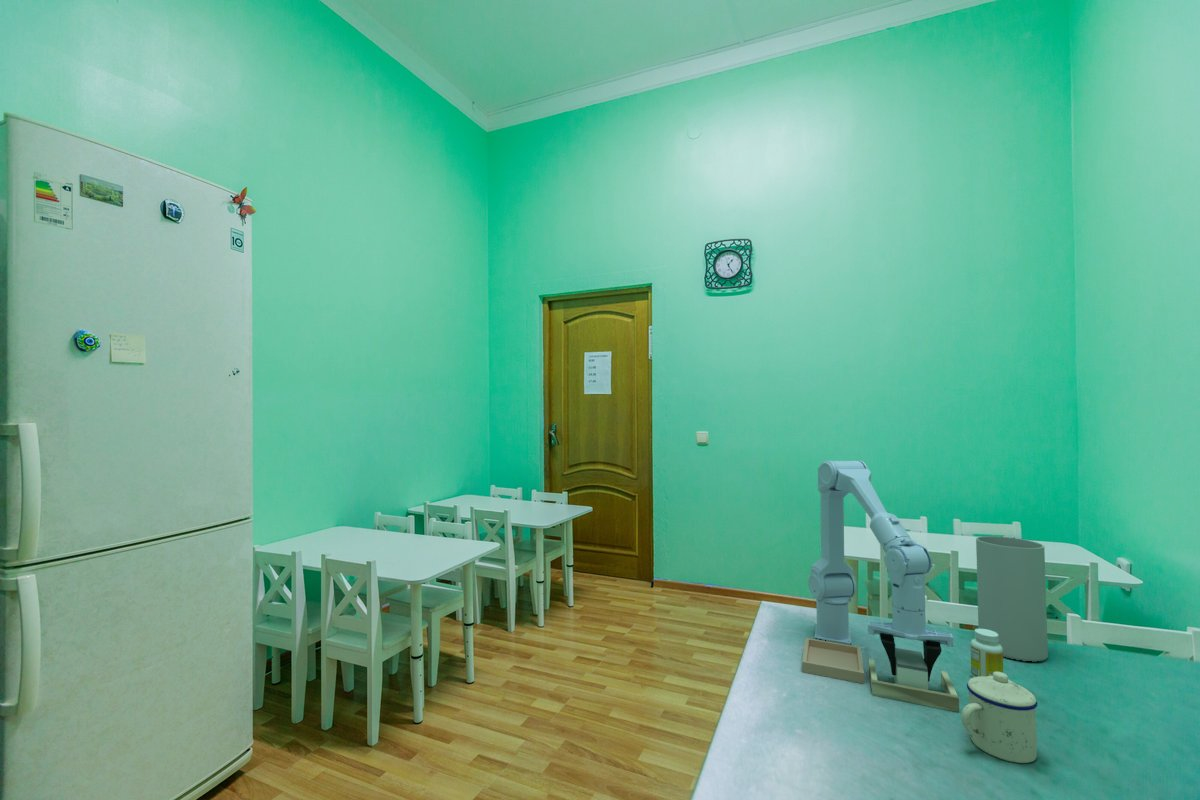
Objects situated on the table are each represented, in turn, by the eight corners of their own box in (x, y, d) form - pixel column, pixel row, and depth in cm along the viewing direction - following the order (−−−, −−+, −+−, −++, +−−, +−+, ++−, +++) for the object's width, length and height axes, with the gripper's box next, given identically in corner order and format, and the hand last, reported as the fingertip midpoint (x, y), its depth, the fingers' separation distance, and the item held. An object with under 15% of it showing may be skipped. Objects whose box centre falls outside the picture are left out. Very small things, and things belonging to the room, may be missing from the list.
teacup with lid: (998, 727, 89) (996, 658, 90) (1054, 761, 80) (1052, 684, 81) (940, 735, 87) (938, 665, 87) (991, 771, 78) (989, 692, 78)
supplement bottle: (967, 678, 106) (966, 631, 107) (975, 670, 110) (974, 624, 110) (999, 689, 102) (998, 639, 103) (1007, 680, 106) (1005, 633, 106)
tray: (805, 646, 121) (805, 637, 121) (860, 656, 116) (860, 646, 116) (802, 672, 109) (802, 661, 109) (864, 683, 104) (864, 673, 104)
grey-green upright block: (893, 677, 107) (892, 647, 107) (921, 682, 105) (921, 652, 105) (897, 695, 100) (897, 663, 100) (928, 701, 97) (927, 668, 98)
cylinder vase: (1051, 668, 111) (1047, 551, 112) (979, 653, 118) (976, 543, 119) (1044, 648, 121) (1040, 540, 122) (978, 635, 128) (975, 534, 129)
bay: (868, 670, 110) (868, 658, 110) (946, 684, 104) (946, 671, 104) (872, 695, 100) (872, 681, 100) (959, 712, 94) (958, 698, 94)
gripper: (868, 607, 102) (869, 677, 102) (956, 619, 96) (958, 693, 96) (866, 596, 109) (867, 662, 108) (948, 607, 103) (950, 676, 102)
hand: (909, 676), depth 102 cm, fingers closed on grey-green upright block, 5 cm apart
